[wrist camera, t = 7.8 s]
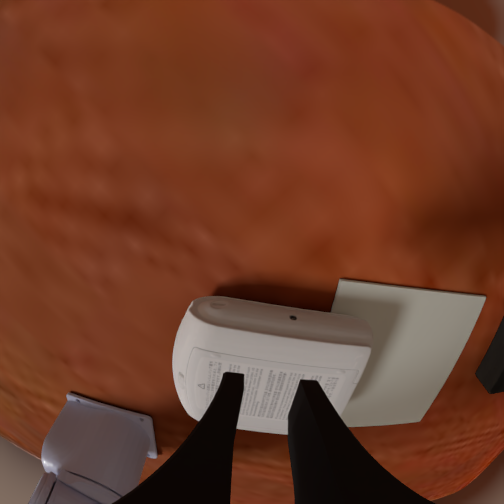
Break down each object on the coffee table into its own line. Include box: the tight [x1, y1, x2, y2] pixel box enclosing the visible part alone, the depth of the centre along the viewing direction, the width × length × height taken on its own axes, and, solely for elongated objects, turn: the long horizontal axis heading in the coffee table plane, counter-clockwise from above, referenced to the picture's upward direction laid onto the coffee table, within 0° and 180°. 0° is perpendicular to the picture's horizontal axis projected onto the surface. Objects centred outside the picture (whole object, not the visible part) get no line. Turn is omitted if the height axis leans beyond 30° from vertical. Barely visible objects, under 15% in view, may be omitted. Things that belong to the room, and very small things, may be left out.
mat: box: [330, 279, 486, 427], centre depth 23 cm, size 14×15×1 cm
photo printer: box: [172, 296, 374, 435], centre depth 20 cm, size 10×4×12 cm
